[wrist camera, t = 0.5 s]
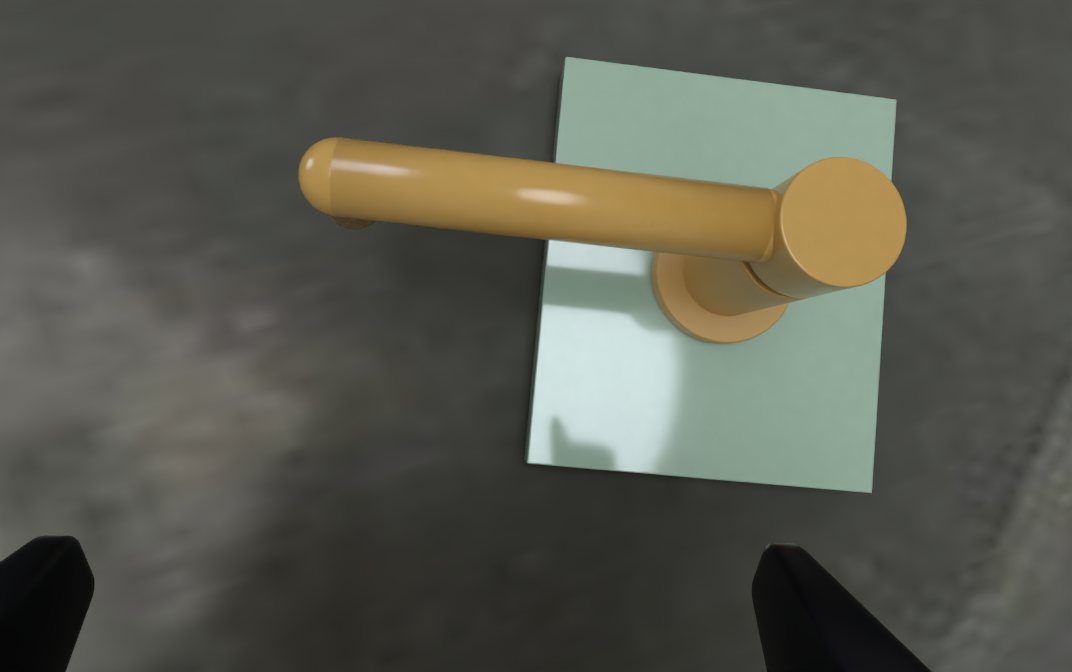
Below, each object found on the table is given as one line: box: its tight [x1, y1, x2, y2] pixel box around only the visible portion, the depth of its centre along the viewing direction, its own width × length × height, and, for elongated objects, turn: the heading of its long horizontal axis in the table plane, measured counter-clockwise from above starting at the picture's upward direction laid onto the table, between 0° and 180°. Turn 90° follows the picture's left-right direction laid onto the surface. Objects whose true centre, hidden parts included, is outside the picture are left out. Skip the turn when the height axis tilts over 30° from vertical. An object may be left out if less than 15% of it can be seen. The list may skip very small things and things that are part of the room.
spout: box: [298, 137, 907, 298], centre depth 17 cm, size 14×3×3 cm, turn 85°
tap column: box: [651, 252, 807, 344], centre depth 21 cm, size 5×5×6 cm
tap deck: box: [524, 57, 896, 493], centre depth 25 cm, size 14×12×2 cm
